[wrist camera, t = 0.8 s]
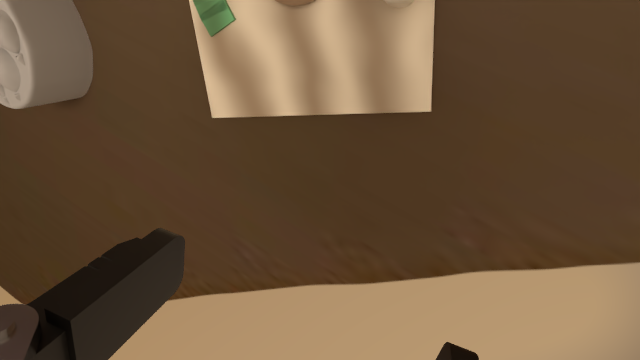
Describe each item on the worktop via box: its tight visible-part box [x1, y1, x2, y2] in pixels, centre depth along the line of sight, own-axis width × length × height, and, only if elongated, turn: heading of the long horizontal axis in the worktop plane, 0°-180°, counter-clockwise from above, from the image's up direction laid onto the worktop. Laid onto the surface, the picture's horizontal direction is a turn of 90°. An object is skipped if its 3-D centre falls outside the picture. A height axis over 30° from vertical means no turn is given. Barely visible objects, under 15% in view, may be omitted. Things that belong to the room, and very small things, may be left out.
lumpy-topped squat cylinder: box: [0, 0, 93, 109], centre depth 37 cm, size 10×13×9 cm
